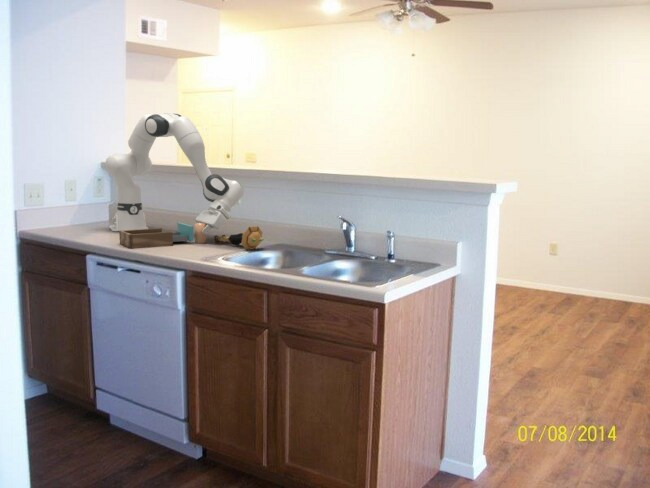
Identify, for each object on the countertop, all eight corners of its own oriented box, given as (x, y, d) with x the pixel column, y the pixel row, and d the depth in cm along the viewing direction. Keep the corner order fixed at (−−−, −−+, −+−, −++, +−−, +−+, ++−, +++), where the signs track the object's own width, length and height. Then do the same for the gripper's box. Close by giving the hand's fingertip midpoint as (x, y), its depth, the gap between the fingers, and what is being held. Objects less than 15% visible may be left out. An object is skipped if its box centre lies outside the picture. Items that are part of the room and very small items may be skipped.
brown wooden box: (119, 244, 278) (119, 230, 277) (161, 241, 289) (160, 228, 288) (130, 248, 267) (129, 234, 266) (172, 245, 278) (172, 232, 277)
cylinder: (193, 242, 289) (193, 223, 287) (203, 241, 292) (203, 222, 290) (197, 243, 285) (197, 224, 283) (207, 242, 288) (207, 223, 286)
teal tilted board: (140, 239, 284) (139, 224, 283) (179, 236, 295) (179, 222, 294) (152, 244, 272) (151, 228, 271) (193, 241, 283) (192, 226, 282)
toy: (234, 227, 297) (273, 224, 275) (236, 248, 297) (275, 247, 276) (202, 230, 285) (241, 227, 263) (204, 252, 285) (243, 251, 264)
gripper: (204, 203, 298) (185, 224, 294) (223, 207, 282) (204, 230, 277) (212, 212, 301) (194, 233, 297) (232, 217, 285) (213, 239, 281)
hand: (199, 232), depth 287 cm, fingers closed on cylinder, 5 cm apart
